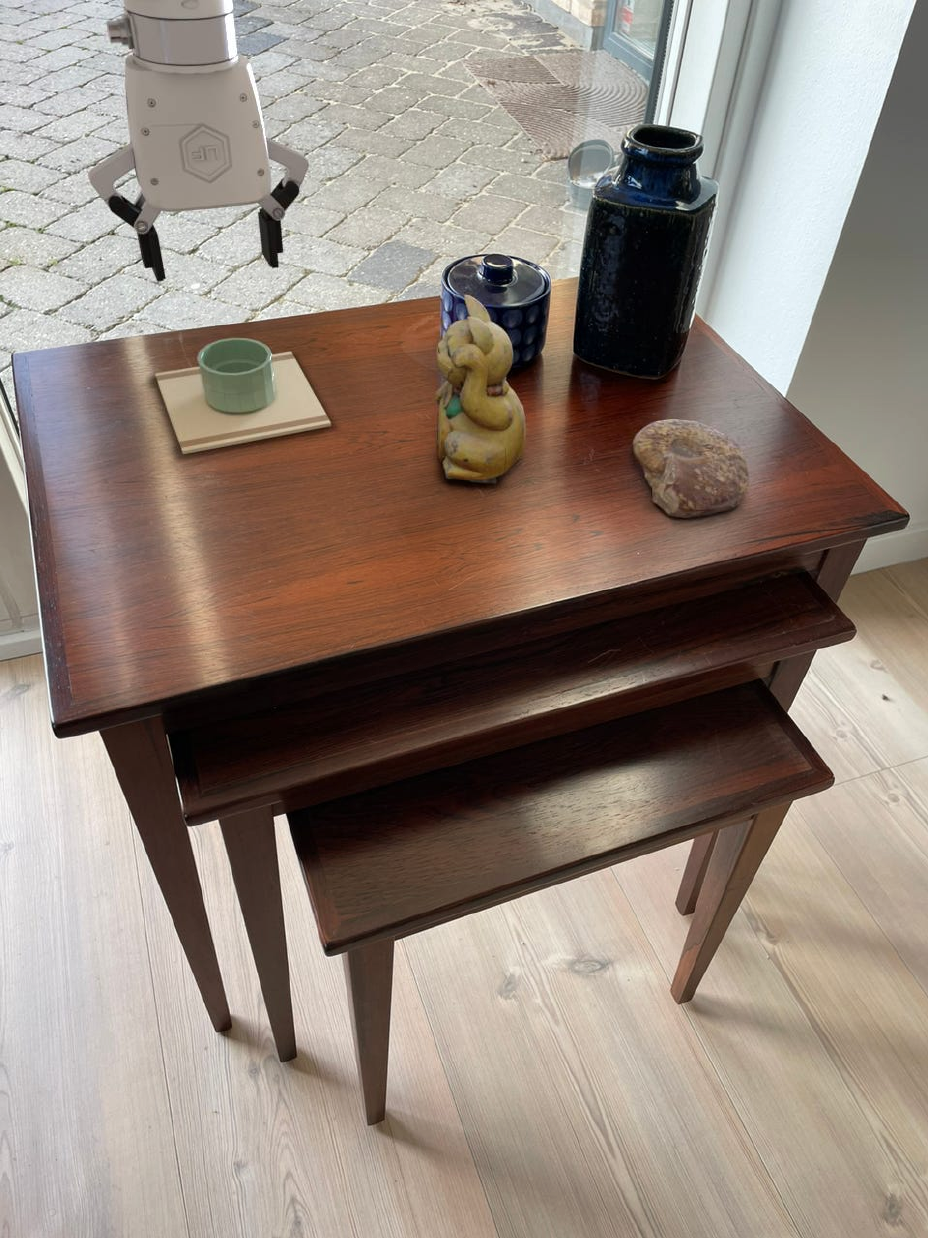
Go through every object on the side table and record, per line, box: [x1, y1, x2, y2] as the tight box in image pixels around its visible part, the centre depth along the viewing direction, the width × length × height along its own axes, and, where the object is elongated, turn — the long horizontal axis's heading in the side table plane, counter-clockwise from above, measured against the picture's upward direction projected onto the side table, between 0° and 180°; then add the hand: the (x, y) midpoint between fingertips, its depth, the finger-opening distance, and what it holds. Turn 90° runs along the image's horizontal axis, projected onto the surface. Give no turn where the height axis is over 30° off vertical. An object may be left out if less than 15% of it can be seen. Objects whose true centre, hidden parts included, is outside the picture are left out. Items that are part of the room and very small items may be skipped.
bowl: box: [196, 337, 276, 413], centre depth 86 cm, size 7×7×4 cm
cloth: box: [154, 351, 332, 455], centre depth 88 cm, size 14×14×1 cm
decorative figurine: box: [434, 294, 527, 485], centre depth 77 cm, size 10×8×15 cm
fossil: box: [632, 418, 750, 519], centre depth 81 cm, size 13×5×10 cm
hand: (215, 267), depth 77 cm, fingers open, 9 cm apart
